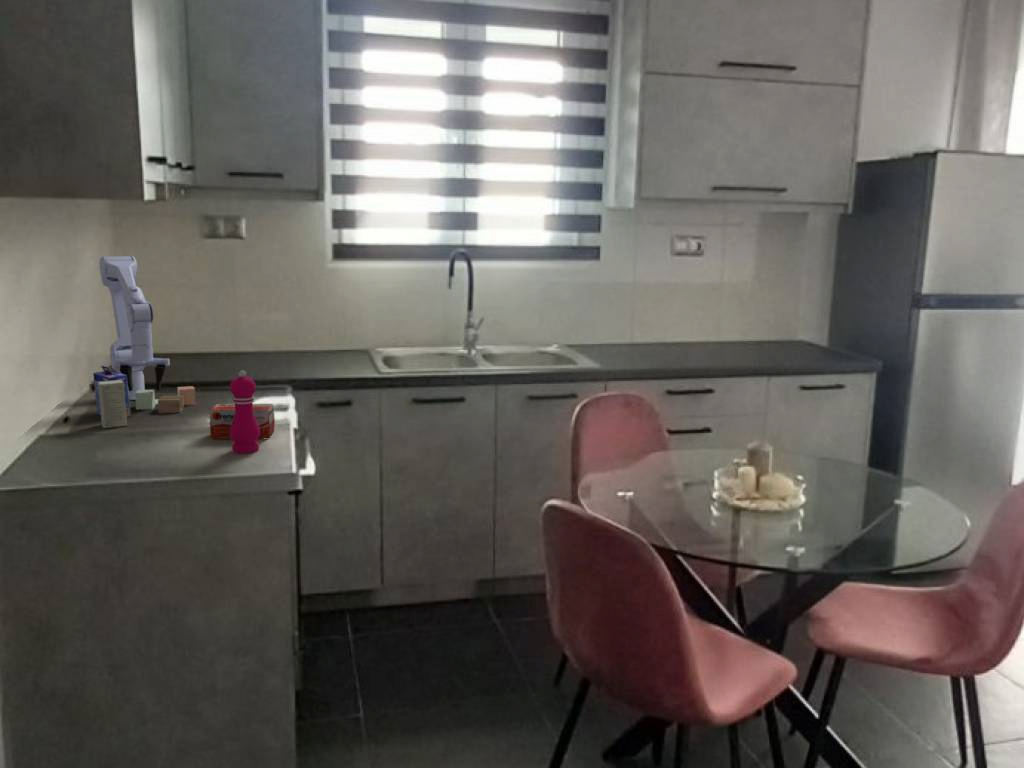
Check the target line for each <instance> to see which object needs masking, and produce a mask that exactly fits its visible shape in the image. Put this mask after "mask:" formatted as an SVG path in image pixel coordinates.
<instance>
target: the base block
mask: <svg viewBox="0 0 1024 768" xmlns="http://www.w3.org/2000/svg"><path fill="white" fill-rule="evenodd" d="M158 399H159V400H158V405H157V411H158V412H157V413H158V414H177V412H180V413H182V411H183V410H184V409H185V406H184V396H178V395H162V396H160V397H159V398H158Z"/></svg>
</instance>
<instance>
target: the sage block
mask: <svg viewBox="0 0 1024 768" xmlns="http://www.w3.org/2000/svg"><path fill="white" fill-rule="evenodd" d="M135 399H136V400H135V410H139V409H141V410H154V408H155V407H156V405H155V399H156V396H155V389H145V390H138V391H137V392H136V393H135Z"/></svg>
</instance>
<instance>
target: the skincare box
mask: <svg viewBox="0 0 1024 768" xmlns="http://www.w3.org/2000/svg"><path fill="white" fill-rule="evenodd" d="M98 389H99V399H100V410H101V415H100V421H101V426H102V428H103V429H106V428H107V429H108V428H116V427H124V426H126V427H127V426H128V417H127V416H126V405H125V393H124V382H123V381H122V380H113V381H102V382H98Z"/></svg>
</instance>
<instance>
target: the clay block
mask: <svg viewBox="0 0 1024 768" xmlns="http://www.w3.org/2000/svg"><path fill="white" fill-rule="evenodd" d="M177 396H184V405H186V406H196V403H197V402H196V401H197V400H196V388H195V387H194V386H192V385H191V386H190V385H189V386H177Z"/></svg>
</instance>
